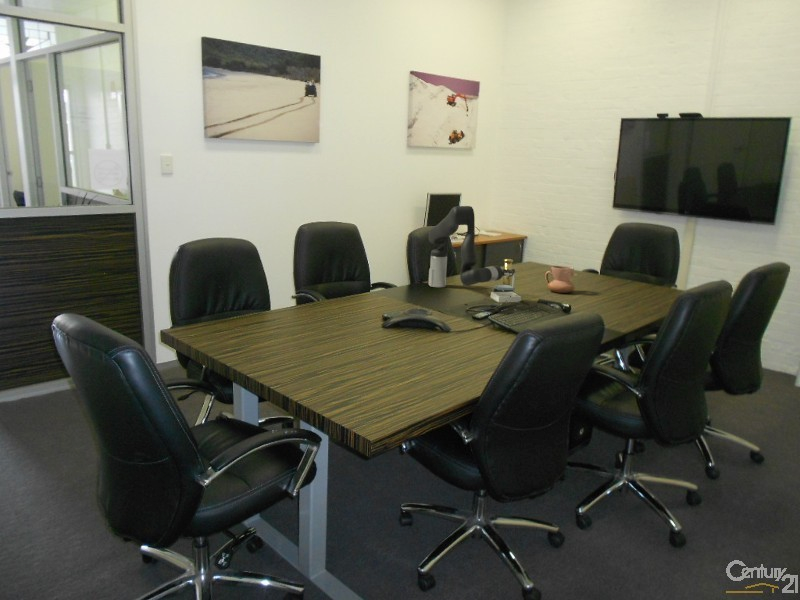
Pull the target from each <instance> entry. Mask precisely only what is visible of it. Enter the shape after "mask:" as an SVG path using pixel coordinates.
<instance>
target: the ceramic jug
mask: <svg viewBox="0 0 800 600" xmlns="http://www.w3.org/2000/svg"><path fill="white" fill-rule="evenodd" d="M550 269H551V270H548V271H546V272H545V274H544V275H545V276H544V277H545V281H546V284H547V288H548V290H549V291H551V292H553V293H558V294H567V293H571V292H573V291H574V290H575V289H576V286H575V285H574V283H572V282H571V281H570V279H571V278H572V277H577V276H578V274H577V273H574V269H575V268H574V267H572V266H566V265H552V266H551V267H550ZM549 274H550V275H551V276H552V278H553V279H552V280H551V281H549Z"/></svg>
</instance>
